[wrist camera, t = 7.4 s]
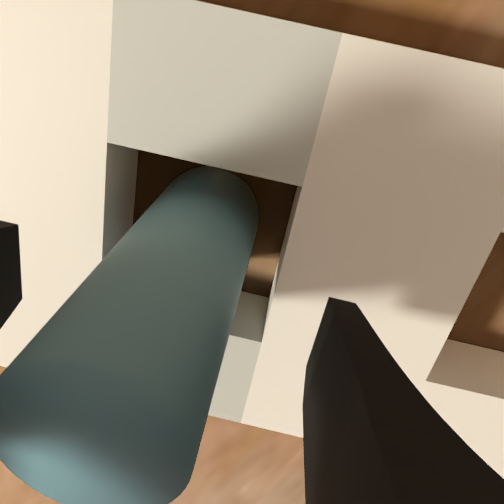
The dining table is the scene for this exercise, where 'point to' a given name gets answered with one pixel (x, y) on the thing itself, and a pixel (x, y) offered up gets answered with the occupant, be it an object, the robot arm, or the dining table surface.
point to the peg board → (269, 167)
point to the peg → (134, 353)
